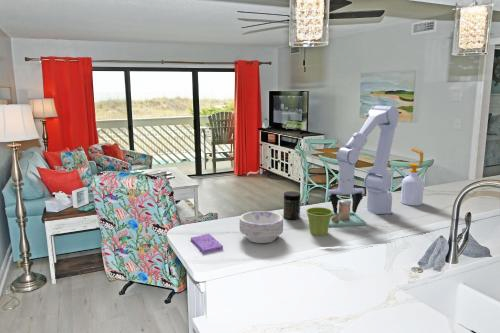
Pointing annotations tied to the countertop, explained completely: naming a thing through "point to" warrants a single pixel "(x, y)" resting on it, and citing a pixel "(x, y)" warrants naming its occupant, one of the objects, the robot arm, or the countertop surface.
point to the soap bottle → (413, 185)
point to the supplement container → (291, 205)
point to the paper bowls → (261, 226)
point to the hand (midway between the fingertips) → (344, 212)
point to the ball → (335, 219)
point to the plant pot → (319, 220)
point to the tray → (348, 221)
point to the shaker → (344, 210)
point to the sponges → (207, 243)
